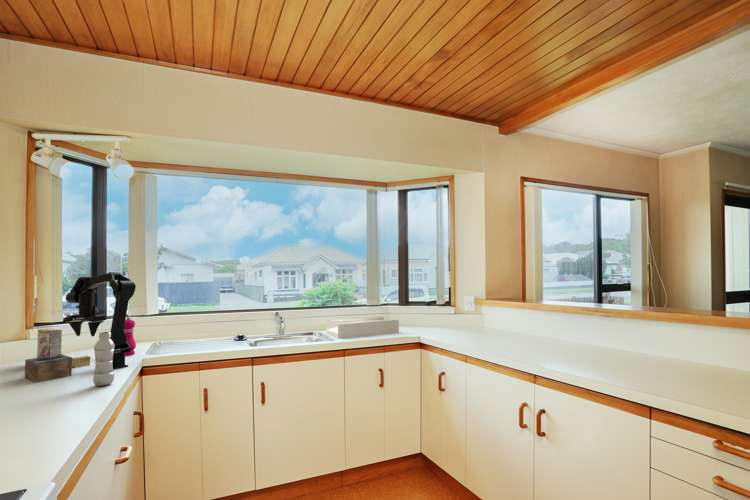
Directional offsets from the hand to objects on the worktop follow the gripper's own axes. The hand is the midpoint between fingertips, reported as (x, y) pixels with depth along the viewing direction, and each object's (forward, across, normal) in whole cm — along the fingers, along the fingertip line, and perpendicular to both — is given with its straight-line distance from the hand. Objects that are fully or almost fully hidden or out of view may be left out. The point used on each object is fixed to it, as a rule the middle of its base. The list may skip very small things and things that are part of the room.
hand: (85, 336), depth 182 cm
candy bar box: (+13, +17, +5) cm, 22 cm away
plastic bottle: (+14, -42, +24) cm, 50 cm away
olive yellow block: (+13, -2, +3) cm, 14 cm away
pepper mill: (+13, -2, -21) cm, 25 cm away
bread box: (+16, -100, -116) cm, 155 cm away
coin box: (+13, -8, +21) cm, 26 cm away
